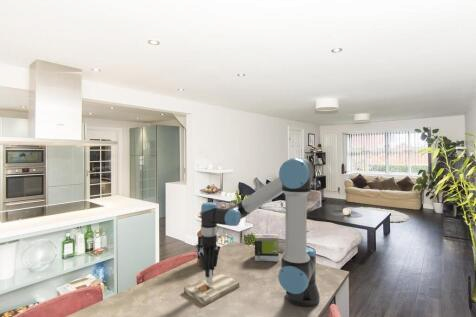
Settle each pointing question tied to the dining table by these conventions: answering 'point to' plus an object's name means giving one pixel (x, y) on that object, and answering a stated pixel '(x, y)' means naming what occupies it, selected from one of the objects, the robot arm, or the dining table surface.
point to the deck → (211, 288)
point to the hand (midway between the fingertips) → (209, 282)
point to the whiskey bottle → (199, 247)
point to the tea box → (266, 247)
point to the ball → (203, 288)
